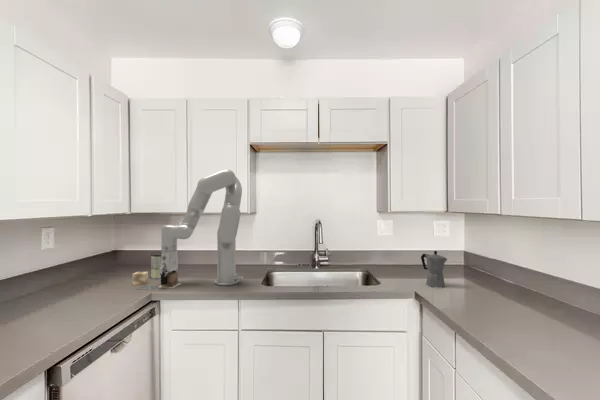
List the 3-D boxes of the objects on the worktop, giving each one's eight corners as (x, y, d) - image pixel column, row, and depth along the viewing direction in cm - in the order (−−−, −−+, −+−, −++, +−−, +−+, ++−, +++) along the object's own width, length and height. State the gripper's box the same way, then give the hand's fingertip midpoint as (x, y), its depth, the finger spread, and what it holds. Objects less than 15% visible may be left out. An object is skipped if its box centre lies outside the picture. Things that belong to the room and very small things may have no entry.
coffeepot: (452, 287, 174) (452, 251, 174) (441, 289, 169) (441, 253, 168) (426, 280, 187) (426, 248, 187) (415, 283, 181) (415, 249, 181)
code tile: (181, 284, 179) (181, 283, 179) (173, 288, 170) (173, 287, 170) (165, 283, 180) (165, 282, 180) (156, 288, 171) (156, 287, 171)
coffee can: (156, 275, 199) (156, 251, 199) (173, 275, 198) (173, 251, 198) (147, 279, 189) (147, 254, 189) (164, 280, 188) (164, 254, 188)
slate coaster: (159, 286, 173) (159, 285, 173) (151, 291, 165) (151, 289, 165) (145, 286, 174) (145, 285, 174) (135, 290, 166) (135, 289, 166)
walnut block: (177, 283, 178) (177, 272, 178) (172, 286, 172) (172, 274, 172) (166, 283, 178) (166, 272, 178) (160, 286, 172) (160, 274, 172)
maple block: (148, 282, 182) (148, 271, 182) (144, 285, 176) (144, 274, 176) (136, 283, 181) (136, 271, 181) (132, 285, 175) (132, 274, 175)
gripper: (167, 251, 166) (167, 286, 166) (183, 246, 183) (183, 278, 183) (153, 251, 167) (152, 286, 167) (170, 246, 184) (170, 277, 184)
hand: (168, 282), depth 175 cm, fingers open, 9 cm apart
